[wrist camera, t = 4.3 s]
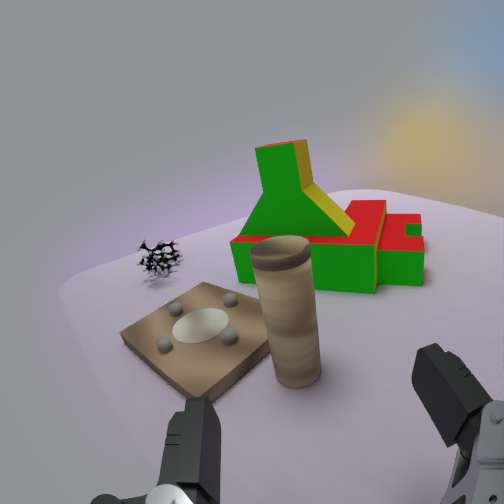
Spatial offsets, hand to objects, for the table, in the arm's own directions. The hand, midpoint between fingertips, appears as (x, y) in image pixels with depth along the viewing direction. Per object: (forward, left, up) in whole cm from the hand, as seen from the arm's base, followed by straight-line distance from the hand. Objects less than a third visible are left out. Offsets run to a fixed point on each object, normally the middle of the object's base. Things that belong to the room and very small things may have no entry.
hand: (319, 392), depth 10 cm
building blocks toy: (-30, -15, -11) cm, 36 cm away
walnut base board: (-7, -20, -11) cm, 24 cm away
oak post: (-8, -8, -11) cm, 16 cm away
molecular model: (-16, -42, -11) cm, 46 cm away
